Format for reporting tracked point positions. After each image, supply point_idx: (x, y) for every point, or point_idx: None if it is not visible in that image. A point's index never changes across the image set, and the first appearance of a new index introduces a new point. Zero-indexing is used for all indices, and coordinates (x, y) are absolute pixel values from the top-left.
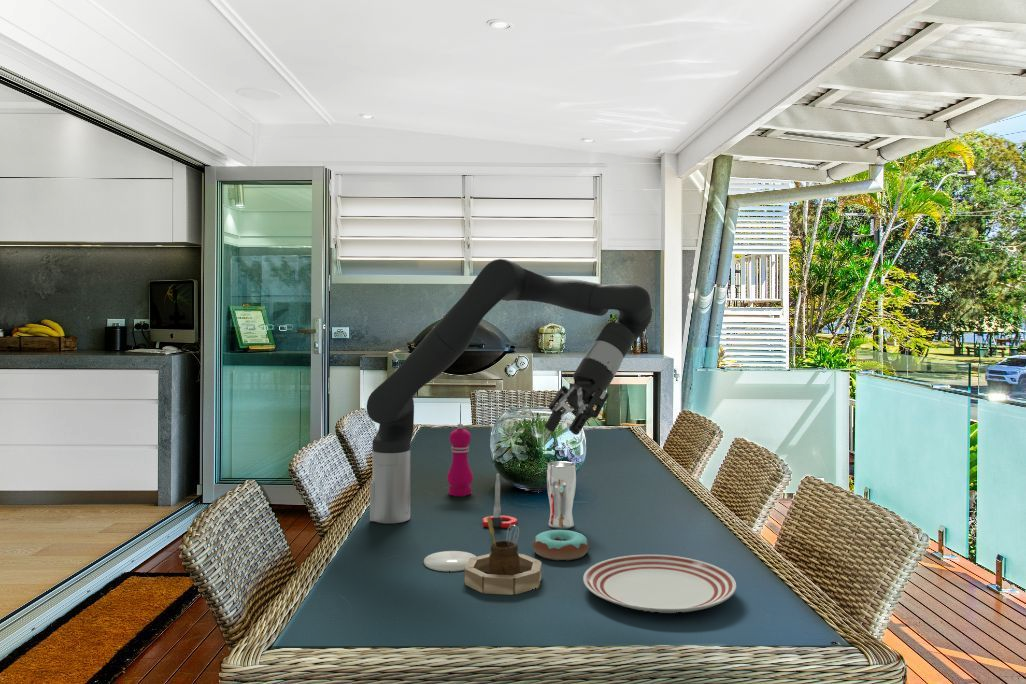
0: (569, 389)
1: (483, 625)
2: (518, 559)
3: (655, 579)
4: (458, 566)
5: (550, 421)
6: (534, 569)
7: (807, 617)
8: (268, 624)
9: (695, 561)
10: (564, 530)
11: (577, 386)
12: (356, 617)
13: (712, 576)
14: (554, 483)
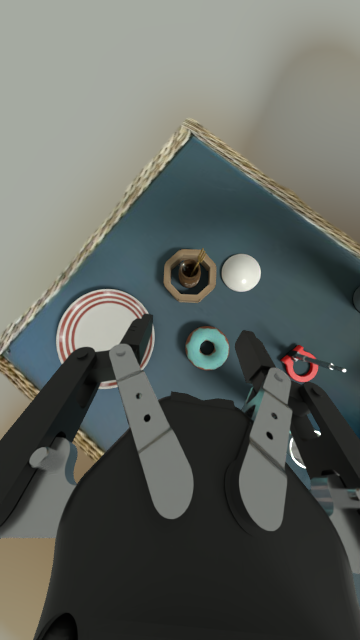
0: (331, 535)
1: (144, 227)
2: (180, 278)
3: None
4: (225, 267)
5: (247, 342)
6: (169, 284)
7: (32, 372)
8: (219, 143)
9: (107, 386)
10: (216, 361)
11: (273, 587)
12: (197, 181)
13: None
14: None
